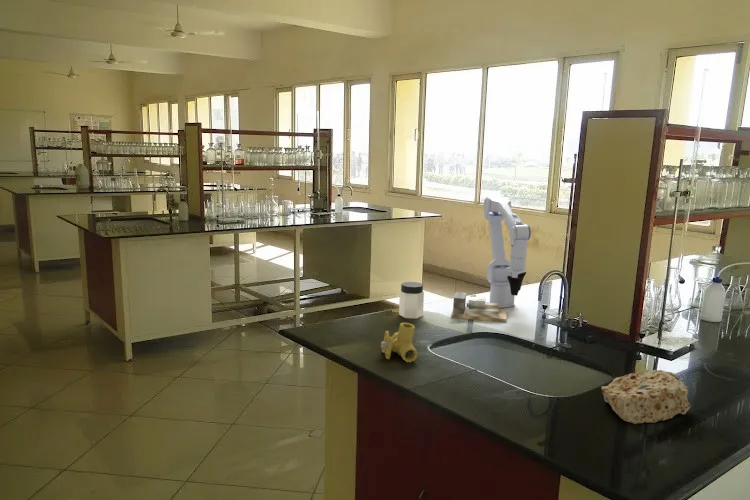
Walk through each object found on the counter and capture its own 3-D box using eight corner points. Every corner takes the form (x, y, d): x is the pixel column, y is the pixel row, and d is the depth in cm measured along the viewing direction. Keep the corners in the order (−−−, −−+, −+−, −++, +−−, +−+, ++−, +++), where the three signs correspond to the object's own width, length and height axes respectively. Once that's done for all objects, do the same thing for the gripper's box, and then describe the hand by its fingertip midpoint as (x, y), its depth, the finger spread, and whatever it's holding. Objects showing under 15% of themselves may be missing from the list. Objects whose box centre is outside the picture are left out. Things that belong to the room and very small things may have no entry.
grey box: (484, 310, 214) (485, 297, 213) (484, 316, 206) (484, 303, 205) (468, 309, 215) (469, 296, 214) (467, 315, 207) (468, 302, 206)
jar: (423, 312, 214) (424, 282, 211) (422, 319, 206) (424, 287, 203) (399, 311, 214) (400, 281, 212) (398, 318, 206) (399, 286, 204)
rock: (640, 434, 127) (633, 391, 127) (595, 420, 141) (589, 380, 141) (707, 412, 134) (700, 371, 134) (658, 400, 147) (652, 363, 148)
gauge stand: (505, 313, 216) (507, 295, 214) (506, 322, 204) (507, 303, 203) (453, 308, 220) (454, 290, 219) (451, 317, 208) (452, 298, 207)
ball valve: (404, 349, 177) (374, 347, 174) (410, 319, 175) (380, 316, 172) (417, 367, 165) (384, 365, 162) (423, 334, 163) (391, 332, 160)
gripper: (509, 252, 215) (507, 287, 217) (504, 259, 202) (501, 296, 204) (528, 254, 212) (526, 289, 215) (524, 261, 199) (521, 298, 202)
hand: (515, 292), depth 209 cm, fingers open, 7 cm apart
